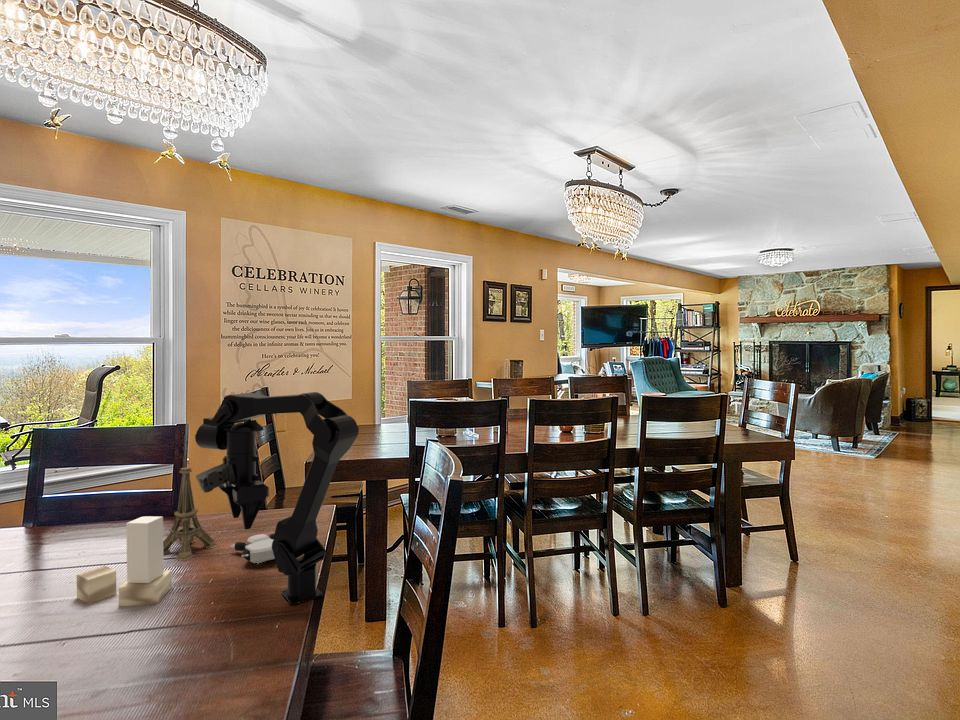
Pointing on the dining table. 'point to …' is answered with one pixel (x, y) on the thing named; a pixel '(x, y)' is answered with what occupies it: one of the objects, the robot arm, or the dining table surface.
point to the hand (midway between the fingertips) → (241, 523)
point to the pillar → (144, 549)
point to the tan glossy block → (145, 591)
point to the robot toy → (256, 548)
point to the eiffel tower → (186, 521)
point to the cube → (96, 584)
